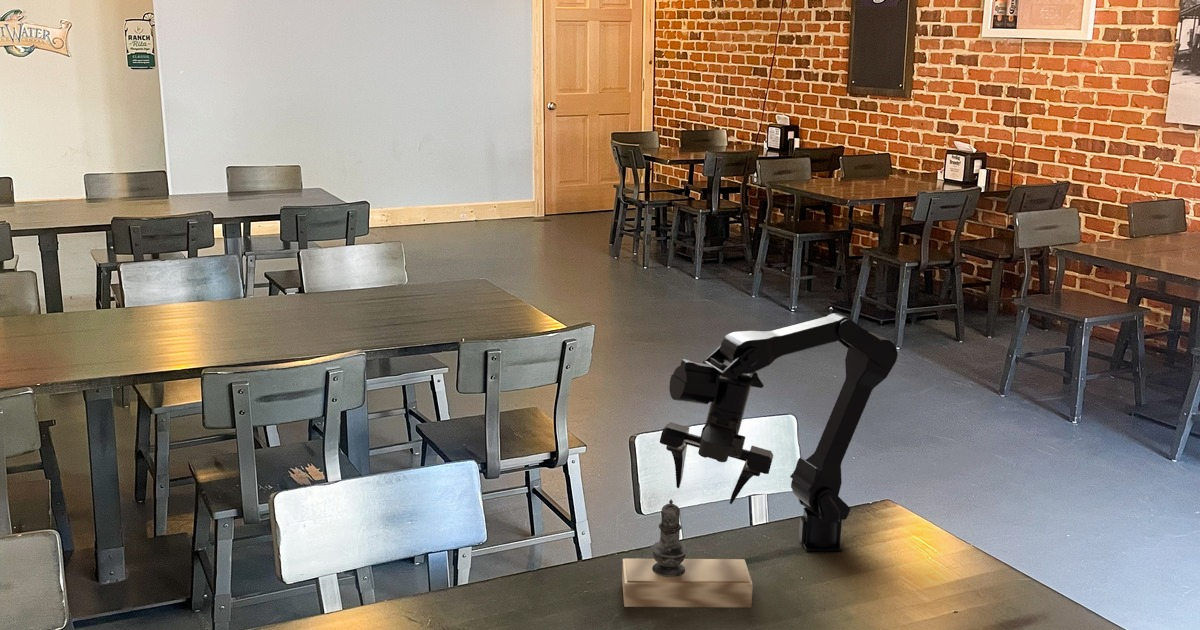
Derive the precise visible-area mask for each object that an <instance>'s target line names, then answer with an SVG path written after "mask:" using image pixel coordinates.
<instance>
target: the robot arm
mask: <svg viewBox="0 0 1200 630" xmlns="http://www.w3.org/2000/svg"><path fill="white" fill-rule="evenodd" d="M835 342H838V343H839V344H841V345H842V346H844V347H845V348H846V349H847V351H846V356H845V359H844V360H845V361H844V363H845V364H844V365H845V380H844V382H843V384H842V386H841V389H840V391H839V394H838V397H837V399H836V400H835V403H834V406H833V408H832V411H831V413H830V415H829V418H828V420H827V422H826V424H825V427H824V428H823V429H824V430H823V432H822V435H821V437H820V439H819V441H818V444H817V446H816V448H815V451H814V452H813V453H812V454H811V455H810V456H809V457H807V458H806V459H805V458H803V457H801V456H800V457H799V458H798V460H797V462H796V466H795V468H794V470H793V472H792V473H791V474H790V476H789V477H790V478H791V482H790V487H791V488H790V489H791V490H792V493H793V494H794V496H795V497H797V499H798V503H799V504H800V505H802V506H803V512H802V513H803V514H802V515H801V516H800V517H799V529H798V530H799V531H798V539H799V540H800V542H801V544H802V545H803V547H804V549H805V550H806V551H807V552H842V551H843V549H844V548H843V546H842V544H841V539H842V538H841V537H842V536H841V535H842V525H843V524H842V523H843V521H845V520H847V518H848V516H849V514H850V511H851V507H850V506H849V505H848V504H847V503H846V502H844V500H842V498H841V497H840V496H839V495H840V493H841V492H840V491H841V487H842V483H843V481H842V480H843V478H842V463H843V460H844V457H845V456H846V453H847V451H848V448H849V446H850V444H851V441H852V439H853V436H854V434H855V433H856V429H857V427H858V425H859V424H860V423H859V422H860V420H861V418H862V415H863V413H864V411H865V408H866V407H867V404H868V401H869V399H870V397H871V394H872V392H873V390H874V389H875V388H876V387H877V386H879V384H881V383H882V382H883V381H884V380H885V379H887V377H888V376H889V374H890V373H891V371H892V369H893V368H894V366H895V365H896V362H897V360H898V355H899V352H898V349H897V347H896V345H895V344H894V343H893V341H891V340H889V339H887V338H885V337H882V336H880V335H878V334H876V333H873V332H871V331H868V330H867V329H865V328H863V327H862V326H860V325H859V324H857V323H856V322H855V321H854V320H853V319H852V318H850V317H848V316H846V315H843V314H840V313H838V312H835V313H834V312H833V313H829V314H828V315H827V316H823V317H820V318H816V319H812V320H808V321H803V322H800V323H797V324H793V325H789V326H785V327H784V326H783V327H782V328H777V329H773V330H767V331H761V330H741V331H740V330H739V331H732V332H730V333H728V334H726V335H725V336H724V337H723V340H722V341H721V343H720V344H719V346H717V347H716V348H715V350H713V351H712V352H711V353H710V354H709V355H708V356H707V357H706V358H704V359H703V361H702V363H701V362H696V361H692V360H690V359H684V358H683V359H681V362H680V365H678V366H677V367H675V369H674V371H673V373H672V374H671V375H670V380H669V395H670V397H671V398H672V400H674V401H679V402H684V403H691V404H698V405H704V406H705V405H708V404H709V403H710V404H709V409H708V413H707V417H706V420H705V424H704V426H703V427H702V431H701V433H700V435H697V434H693V433H689V432H690V427H688V426H685V425H682V424H679V423H674V422H671V421H670V422H669V423H667V424H666V425H665V426H664V427H663V429H662V431H661V435H660V439H659V443H660V444H661V445H664V446H666V447H665V448H666V449H665V450H667V451H669V452H671V454H672V458H673V462H674V470H675V483H676V488H677V489H680V487H681V483H682V480H683V475H684V470H685V469H684V468H685V462H686V455H687V449H688V446H690V447H695V448H698V455H699V456H700V457H702V458H704V459H705V458H710V459H713V460H715V461H717V462H719V463H727V462H728V458H733V459H736V460H739V461H743V462H744V465H743V467H742V470H741V472H740V474H739V476H738V479H737V481H736V484H735V486H734V488H733V491H732V492H731V496H730V500H729V504H730V505H732V504H733V503H734V502H735V500H736V499H737V497H738V496H739V494H740V492H741V490H742V489H743V488H744V486H745V485H746V484H747V482H749V480H750V479H751V478H753V477H754V476H755V477H760V476H761V474H764V475H769V474H770V470H771V466H772V462H773V459H774V454H773V451H772V450H768V449H766V448H765V449H764V448H762V447H758V446H755V445H751V446H750V449H749V450H748V449H746V448H745V449H744V445H745V440H746V436H744V435H741V434H739V433H740V431H741V430H740V429H741V426H742V422H743V418H744V413H745V410H746V407H747V402H748V399H749V396H750V391H751V388H752V387H753V388H758V389H763V388H764V385H765V384H764V383H763V382H762V381H761V379H760V378H759V375H758V371H761V370H763V369H765V368H767V367H769V366H771V364H773V362H775V361H776V360H777V359H779V358H781V357H783V356H787V355H791V354H795V353H798V352H802V351H805V350H809V349H813V348H816V347H821V346H825V345H828V344H831V343H835ZM726 364H727V365H726Z"/></svg>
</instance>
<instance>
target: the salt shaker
mask: <svg viewBox="0 0 1200 630" xmlns="http://www.w3.org/2000/svg"><path fill="white" fill-rule="evenodd" d="M680 515H681V510H680V508H679V506H678V505H676V504H674V501H673V499H671V498H670V499H669V501H668V503H666V504H665V505H663V506H662V508H661V520H660V521H661V522H660V523H659V525H658V528H659V530H660V538H659V541H657V542H655V543H653V544H652V545H651V547H650V550H651V552H652V556H653V559H655V561H656V562H658V563H656V564H654V565H653V567H652V570H653V572H654V573H656V574H657V575H660V576H664V577H676V576H680V575H682V574H684V572H685V567H684V566H683V565H681V563H682V562H683V561H684V559H686V554H687V553H688V551H689V549H688V547H687V546H686V544H684V543H681V542H680V531H681V530H682V525H681V524H680Z"/></svg>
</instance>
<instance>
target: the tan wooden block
mask: <svg viewBox="0 0 1200 630" xmlns="http://www.w3.org/2000/svg"><path fill="white" fill-rule="evenodd" d="M656 563H658V562H656V561H655V559H654V558H622V571H621V573H622V575H621V576H622V577H621V580H622V581H621V582H622V593H623V594H622V595H623V605H624V606H623V607H626V608H627V607H628V608H629V607H631V608H632V607H633V608H642V607H643V608H752V600H753V599H752V598H753V580H752V578H751V574H750V572H749V569H748V566H747V563H746V560H745V559H744V558H742V559H741V558H740V559H739V558H736V559H735V558H734V559H733V558H684V561H683V562H682V563H681V565H683V566H684V567H685V572H684V574H682V575H680V576H676V577H664V576H660V575H657V574H656V573H654V572H653V570H652V567H653V565H654V564H656Z"/></svg>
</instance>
